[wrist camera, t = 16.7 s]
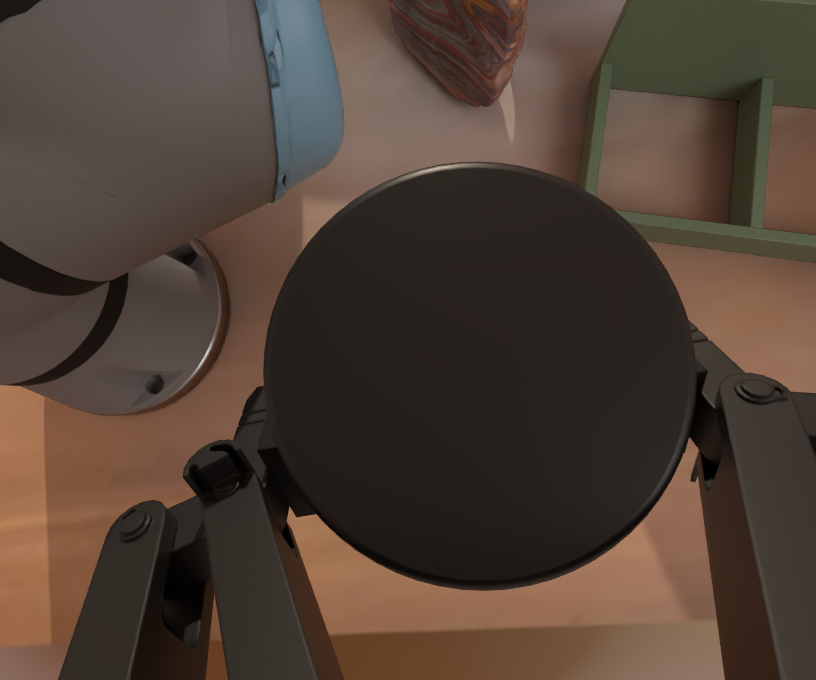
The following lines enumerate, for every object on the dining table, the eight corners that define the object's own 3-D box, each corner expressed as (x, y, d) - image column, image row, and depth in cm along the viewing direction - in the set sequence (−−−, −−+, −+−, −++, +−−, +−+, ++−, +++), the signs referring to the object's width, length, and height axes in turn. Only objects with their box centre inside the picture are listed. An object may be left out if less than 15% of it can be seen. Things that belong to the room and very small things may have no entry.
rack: (570, 230, 32) (611, 174, 24) (591, 77, 34) (635, -22, 26) (904, 275, 30) (1069, 228, 22) (909, 108, 32) (1064, 9, 24)
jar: (343, 460, 20) (195, 545, 8) (374, 287, 21) (282, 135, 9) (544, 496, 19) (713, 652, 7) (565, 313, 20) (742, 182, 8)
